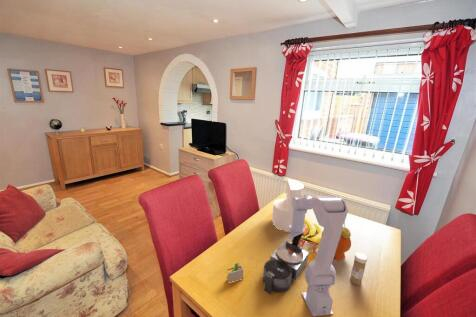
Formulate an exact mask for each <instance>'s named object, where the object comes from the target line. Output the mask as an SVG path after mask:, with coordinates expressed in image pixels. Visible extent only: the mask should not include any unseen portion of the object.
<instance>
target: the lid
mask: <svg viewBox="0 0 476 317" xmlns="http://www.w3.org/2000/svg"><path fill="white" fill-rule="evenodd" d="M285 242H286V244H282V243H281V244H279V245H278V246H277V247H276V249H277V255H278V257H279V258H280V259H281V260H283V261H285V262H287V263H291V264H296V263H300V262H301V261H302V260H303V258H304V254H303V251H302V250H303V246H299V244H298V245H296V244H294V243H292V241H289V240H286V241H285Z"/></svg>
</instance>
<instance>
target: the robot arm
mask: <svg viewBox="0 0 476 317" xmlns="http://www.w3.org/2000/svg"><path fill="white" fill-rule="evenodd" d="M292 207H293V215H292V225H290V226H289V228H290V232H289V234H288V239H289V240H291V243H294V244H296V245H298V246H299V244H300V240H301V239H302V236H303V235H304V233H305V232H304V230H305V226H306V225H305V219H306V214H307V213H308V211H309V210H312V211H313V213H314V216H315V219H316V221H317V223H318V225H319V226H320V227H322V228H323V230H322V232H323V234H322V233H321V237H320V238H321V239H320V242H319V245H318V249H317V252H316V256H315V259H314V260H312V261H310V262H309V263H307V266H306V267H304V271H303V273H304V278H305V282H306V283H307V289H306V291H304V292H301V295H302V297H303V299H304V301H305V303H306V305H307V308H308V309H309V312H310V314H311V315H312V317H319V316H327V315H333V310H332V308H333V302H334V301H333V297H332V296H331V294H330V290H329V289H331V286H334V285H335V284H336V274H337V271H336V268H335V267H334V265H333V264H332V263H333V261H334V259H335V257H334V255H335V252H336V249H337V246H338V242H339V239H340V236H341V233H342V227H344V226H343V225H344V224H345V223H346V222H345V221H346V219H347V215H348V213H349V210H348V205H347V203H346V201H345V199H344V198H343V197H340V196H338V197H336V196H324V195H323V196H322V195H321V196H313V197H312V196H311V195H309V194H304V195H303V196H300V197H299V198H295V197H294V198H293V199H292ZM344 222H345V223H344Z"/></svg>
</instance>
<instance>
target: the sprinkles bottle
mask: <svg viewBox="0 0 476 317" xmlns="http://www.w3.org/2000/svg"><path fill="white" fill-rule="evenodd" d="M367 261H368V257H367V256H366V254H364V253H362V252H356V253H354V259H353V266H352V268H351V275H350V277H349V281H350V282H351V283H352V284H354V285H356V286H361V285H362V280H363V277H364V274H365V270H366V266H367V265H366V264H367Z"/></svg>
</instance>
